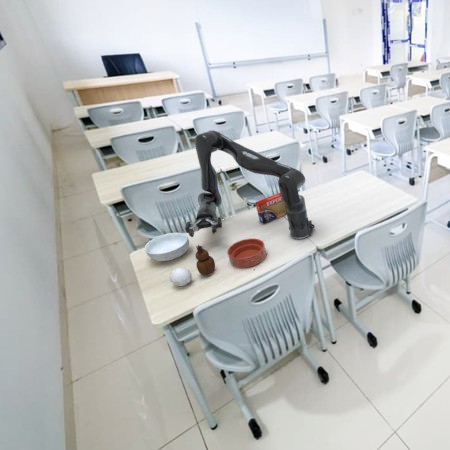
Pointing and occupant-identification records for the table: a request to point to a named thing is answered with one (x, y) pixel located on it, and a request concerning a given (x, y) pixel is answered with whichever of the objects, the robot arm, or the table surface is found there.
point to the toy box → (270, 208)
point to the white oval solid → (180, 276)
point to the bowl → (246, 252)
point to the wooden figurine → (204, 261)
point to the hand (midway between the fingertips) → (202, 233)
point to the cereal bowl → (167, 246)
